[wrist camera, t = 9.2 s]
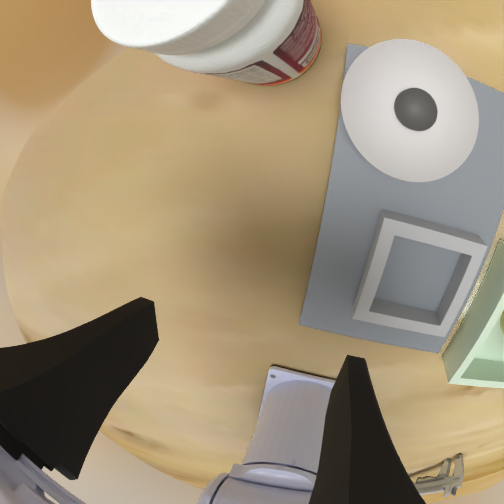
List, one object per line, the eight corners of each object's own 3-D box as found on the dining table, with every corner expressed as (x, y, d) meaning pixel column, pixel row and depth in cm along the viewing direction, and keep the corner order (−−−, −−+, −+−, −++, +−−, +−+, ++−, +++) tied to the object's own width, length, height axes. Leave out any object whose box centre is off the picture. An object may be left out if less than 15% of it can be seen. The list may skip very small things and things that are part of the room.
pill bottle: (285, -20, 12) (205, -130, 2) (343, 57, 14) (333, -29, 4) (202, 30, 15) (60, -13, 5) (251, 105, 16) (122, 109, 7)
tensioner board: (435, 342, 19) (443, 378, 16) (301, 314, 22) (291, 350, 19) (516, 96, 11) (548, 97, 7) (348, 40, 13) (348, 21, 10)
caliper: (459, 450, 25) (462, 491, 19) (462, 452, 25) (465, 492, 19) (343, 490, 35) (336, 523, 30) (347, 492, 35) (340, 524, 30)
